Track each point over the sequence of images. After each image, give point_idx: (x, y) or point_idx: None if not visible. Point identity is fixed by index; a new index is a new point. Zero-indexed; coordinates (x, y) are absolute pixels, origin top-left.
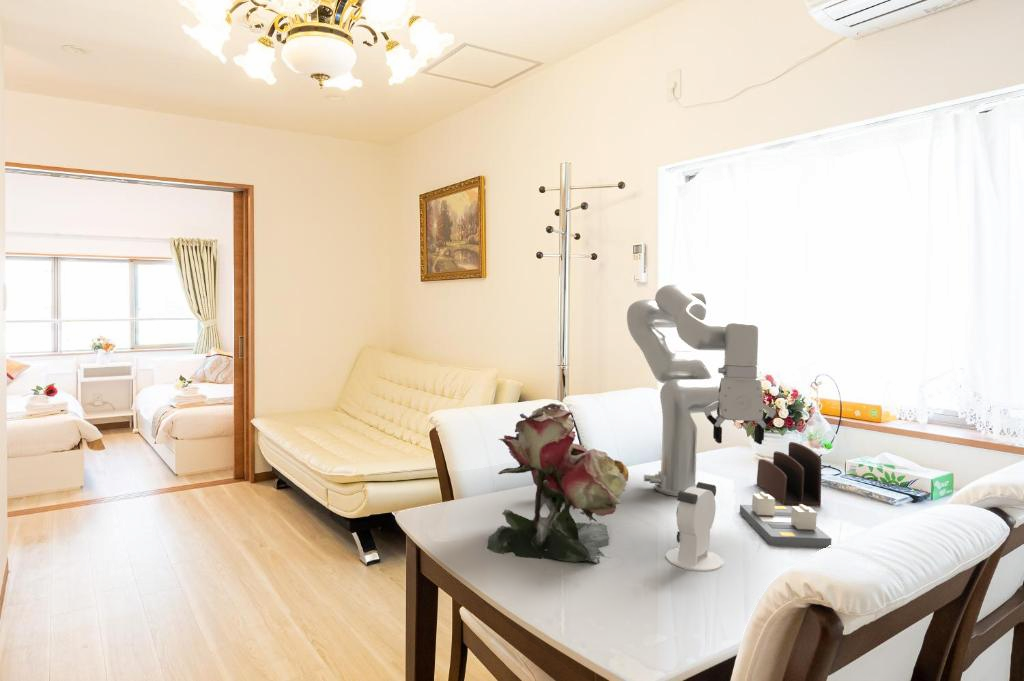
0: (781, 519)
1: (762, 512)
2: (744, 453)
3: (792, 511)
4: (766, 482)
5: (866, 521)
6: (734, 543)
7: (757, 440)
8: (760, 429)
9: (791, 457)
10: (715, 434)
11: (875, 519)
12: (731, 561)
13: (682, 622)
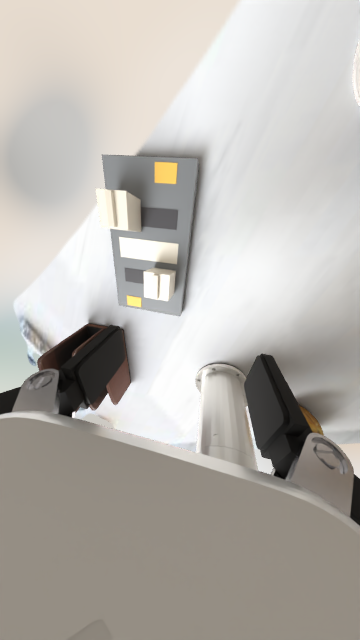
0: (148, 252)
1: (168, 270)
2: None
3: (132, 226)
4: (123, 372)
5: (52, 275)
6: (259, 172)
7: (117, 344)
8: (75, 363)
9: None
10: (292, 394)
11: (43, 281)
12: (341, 23)
13: None
